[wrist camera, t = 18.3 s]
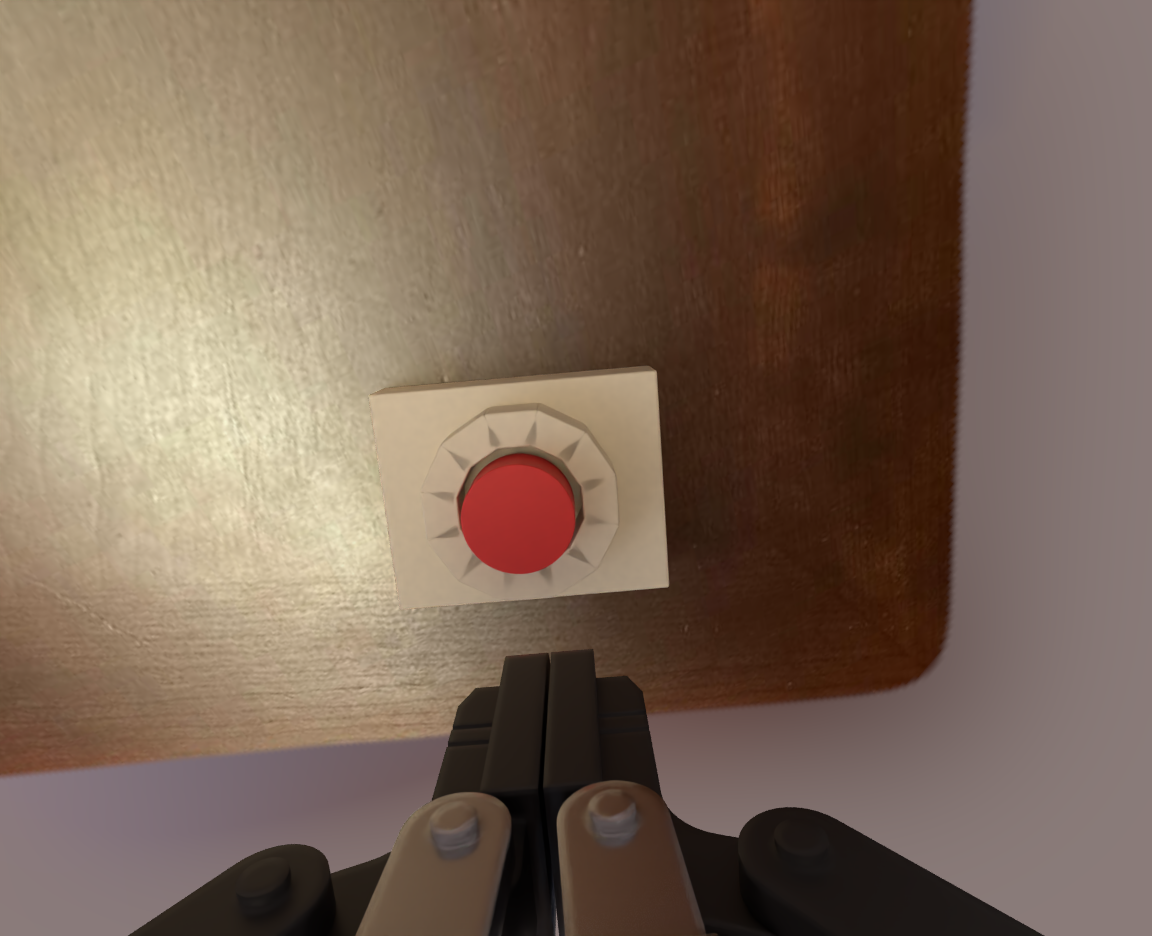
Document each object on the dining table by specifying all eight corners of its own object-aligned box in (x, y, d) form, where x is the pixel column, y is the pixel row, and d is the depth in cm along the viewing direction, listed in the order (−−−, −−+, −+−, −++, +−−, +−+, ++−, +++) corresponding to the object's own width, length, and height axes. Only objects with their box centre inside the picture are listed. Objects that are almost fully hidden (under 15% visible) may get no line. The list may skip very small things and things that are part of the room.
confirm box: (411, 588, 28) (387, 632, 24) (383, 388, 27) (351, 401, 23) (661, 566, 28) (677, 608, 24) (649, 364, 27) (664, 374, 23)
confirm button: (474, 560, 24) (467, 579, 23) (461, 457, 24) (453, 469, 22) (578, 551, 24) (580, 569, 23) (569, 448, 24) (570, 459, 22)
